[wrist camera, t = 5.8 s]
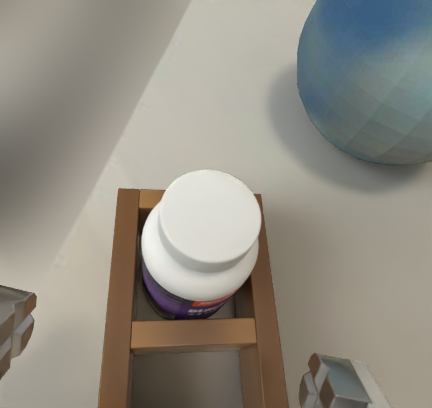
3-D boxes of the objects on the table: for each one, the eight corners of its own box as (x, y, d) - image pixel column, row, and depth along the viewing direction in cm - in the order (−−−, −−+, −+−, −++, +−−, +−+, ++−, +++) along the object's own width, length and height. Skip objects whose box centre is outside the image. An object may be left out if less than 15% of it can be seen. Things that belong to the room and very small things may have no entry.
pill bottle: (188, 345, 20) (217, 316, 11) (124, 281, 21) (106, 209, 12) (245, 279, 22) (305, 213, 14) (185, 224, 23) (206, 132, 15)
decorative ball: (373, 62, 35) (503, -127, 22) (461, 180, 29) (709, 19, 16) (244, 78, 31) (313, -146, 18) (318, 221, 25) (502, 45, 12)
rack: (97, 529, 15) (81, 572, 12) (123, 218, 22) (118, 187, 19) (273, 506, 17) (306, 538, 13) (245, 221, 24) (261, 193, 20)
